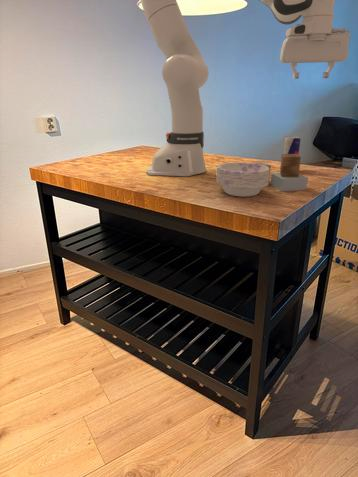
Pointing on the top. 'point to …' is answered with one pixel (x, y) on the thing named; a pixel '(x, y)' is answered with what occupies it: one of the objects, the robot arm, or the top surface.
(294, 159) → the walnut block
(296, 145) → the energy drink
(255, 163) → the beech block
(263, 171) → the paper bowls
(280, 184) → the base block
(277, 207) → the top surface
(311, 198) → the top surface
